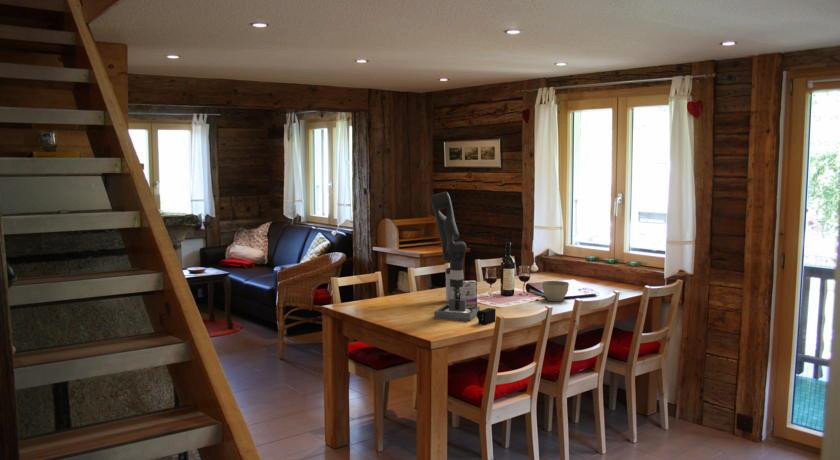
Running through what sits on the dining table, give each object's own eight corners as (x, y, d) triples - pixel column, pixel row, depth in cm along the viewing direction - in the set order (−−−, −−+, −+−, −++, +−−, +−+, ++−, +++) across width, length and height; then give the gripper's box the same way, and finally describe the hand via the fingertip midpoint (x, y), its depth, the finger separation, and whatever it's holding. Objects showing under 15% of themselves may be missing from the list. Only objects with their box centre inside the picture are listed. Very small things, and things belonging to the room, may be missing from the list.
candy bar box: (474, 308, 404) (475, 280, 403) (477, 309, 399) (477, 281, 398) (456, 309, 402) (456, 280, 401) (458, 310, 397) (458, 282, 396)
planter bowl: (570, 302, 418) (571, 284, 417) (544, 302, 419) (544, 285, 418) (565, 297, 434) (566, 280, 433) (539, 297, 435) (540, 280, 434)
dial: (441, 314, 378) (441, 301, 377) (447, 308, 391) (447, 296, 391) (467, 315, 374) (467, 302, 374) (472, 310, 388) (472, 298, 387)
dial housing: (445, 311, 396) (445, 304, 395) (479, 313, 389) (479, 306, 389) (434, 318, 377) (434, 311, 376) (470, 321, 370) (470, 313, 370)
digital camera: (486, 320, 373) (486, 307, 372) (495, 321, 370) (495, 308, 369) (476, 323, 365) (476, 310, 364) (485, 325, 362) (485, 312, 361)
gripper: (448, 275, 388) (448, 306, 389) (451, 280, 374) (451, 311, 375) (461, 275, 388) (461, 306, 390) (465, 280, 374) (465, 311, 376)
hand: (456, 308), depth 383 cm, fingers closed on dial, 3 cm apart
